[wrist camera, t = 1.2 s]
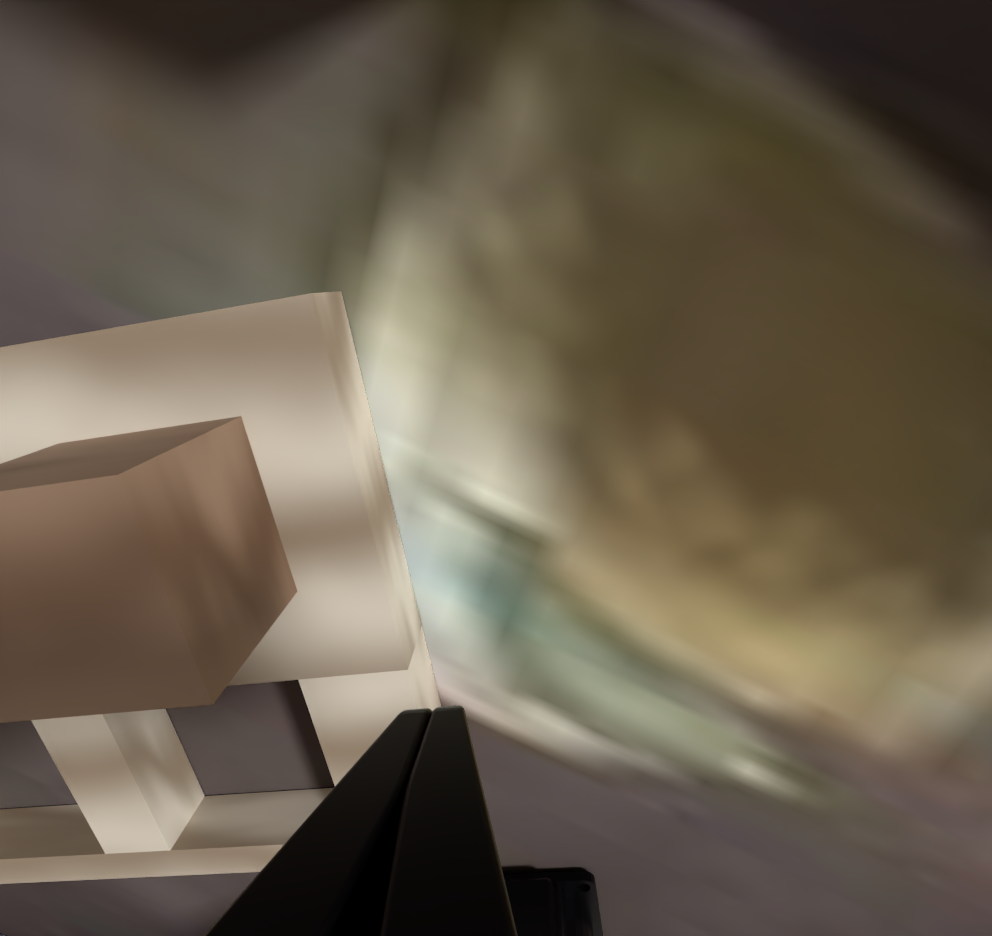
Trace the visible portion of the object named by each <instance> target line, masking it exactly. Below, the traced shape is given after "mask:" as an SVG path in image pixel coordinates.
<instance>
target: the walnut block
mask: <svg viewBox="0 0 992 936" xmlns="http://www.w3.org/2000/svg"><path fill="white" fill-rule="evenodd" d="M296 593H297V588H296V585H295V582H294V579H293V576H292V573H291V570H290V567H289V563H288V560H287V557H286V554H285V551H284V548H283V545H282V542H281V539H280V535H279V532H278V529H277V526H276V523H275V520H274V517H273V514H272V511H271V507H270V504H269V501H268V498H267V495H266V492H265V489H264V486H263V483H262V479H261V476H260V473H259V470H258V467H257V464H256V461H255V458H254V455H253V452H252V448H251V445H250V442H249V439H248V436H247V433H246V430H245V427H244V424H243V420H242V417H241V416H238V417H232V418H225V419H218V420H212V421H205V422H198V423H192V424H185V425H178V426H172V427H165V428H158V429H152V430H145V431H138V432H131V433H125V434H118V435H111V436H105V437H98V438H91V439H85V440H78V441H71V442H65V443H58V444H56V445H53V446H50V447H47V448H44V449H41V450H38V451H36V452H33V453H30V454H27V455H24V456H21V457H19V458H16V459H13V460H10V461H7V462H4V463H1V464H0V723H4V722H16V721H28V720H40V719H51V718H63V717H75V716H87V715H98V714H110V713H122V712H133V711H145V710H157V709H169V708H180V707H192V706H204V705H213V704H214V702H215V701H216V700H217V698H218V697H219V696H220V694H221V693H222V692H223V690H224V689H225V688H226V686H227V685H228V684H229V682H230V681H231V680H232V678H233V677H234V676H235V674H236V673H237V672H238V670H239V669H240V668H241V666H242V665H243V664H244V662H245V661H246V660H247V658H248V657H249V656H250V654H251V653H252V652H253V650H254V649H255V648H256V646H257V645H258V644H259V642H260V641H261V640H262V638H263V637H264V636H265V634H266V633H267V632H268V630H269V629H270V628H271V626H272V625H273V624H274V622H275V621H276V620H277V618H278V617H279V616H280V614H281V613H282V612H283V610H284V609H285V608H286V606H287V605H288V604H289V602H290V601H291V600H292V598H293V597H294V595H295V594H296Z"/></svg>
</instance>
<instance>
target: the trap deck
mask: <svg viewBox="0 0 992 936" xmlns="http://www.w3.org/2000/svg"><path fill="white" fill-rule="evenodd" d="M238 416H241V417H242V420H243V424H244V427H245V430H246V433H247V436H248V439H249V442H250V445H251V448H252V452H253V455H254V458H255V461H256V464H257V467H258V470H259V473H260V476H261V479H262V483H263V486H264V489H265V492H266V495H267V498H268V501H269V504H270V507H271V511H272V514H273V517H274V520H275V523H276V526H277V529H278V532H279V535H280V539H281V542H282V545H283V548H284V551H285V554H286V557H287V560H288V563H289V567H290V570H291V573H292V576H293V579H294V582H295V585H296V588H297V593H296V594H295V595H294V597H293V598H292V600H291V601H290V602H289V604H288V605H287V606H286V608H285V609H284V610H283V612H282V613H281V614H280V616H279V617H278V618H277V620H276V621H275V622H274V624H273V625H272V626H271V628H270V629H269V630H268V632H267V633H266V634H265V636H264V637H263V638H262V640H261V641H260V642H259V644H258V645H257V646H256V648H255V649H254V650H253V652H252V653H251V654H250V656H249V657H248V658H247V660H246V661H245V662H244V664H243V665H242V666H241V668H240V669H239V670H238V672H237V673H236V674H235V676H234V677H233V678H232V680H231V681H230V682H229V684H228V685H227V686H232V685H244V684H255V683H266V682H277V681H288V680H299V683H300V686H301V689H302V692H303V695H304V698H305V701H306V704H307V707H308V710H309V713H310V716H311V718H312V721H313V724H314V727H315V730H316V733H317V736H318V739H319V742H320V745H321V748H322V751H323V753H324V756H325V759H326V762H327V765H328V768H329V771H330V774H331V777H332V780H333V783H334V786H336V785H337V784H338V782H339V781H340V780H341V779H342V778H343V777H344V776H345V774H346V773H347V772H348V771H349V770H350V769H351V768H352V766H353V765H354V764H355V763H356V762H357V761H358V760H359V758H360V757H361V756H362V755H363V754H364V753H365V752H366V750H367V749H368V748H369V747H370V746H371V745H372V744H373V742H374V741H375V740H376V739H377V738H378V737H379V736H380V734H381V733H382V732H383V731H384V730H385V729H386V728H387V727H388V725H389V724H390V723H391V722H392V721H393V720H394V719H395V717H396V716H397V715H398V714H399V713H400V712H402V711H404V710H409V709H422V708H429V709H431V710H432V711H433V710H434V709H435V708H437V707H441V703H440V699H439V695H438V691H437V687H436V682H435V678H434V674H433V670H432V666H431V662H430V658H429V653H428V649H427V645H426V641H425V637H424V633H423V629H422V624H421V620H420V616H419V612H418V608H417V604H416V600H415V595H414V591H413V587H412V583H411V579H410V575H409V571H408V566H407V562H406V558H405V554H404V550H403V546H402V542H401V537H400V533H399V529H398V525H397V521H396V517H395V513H394V508H393V504H392V500H391V496H390V492H389V488H388V484H387V479H386V475H385V471H384V467H383V463H382V459H381V454H380V450H379V446H378V442H377V438H376V434H375V430H374V425H373V421H372V417H371V413H370V409H369V405H368V401H367V396H366V392H365V388H364V384H363V380H362V376H361V372H360V367H359V363H358V359H357V355H356V351H355V347H354V343H353V338H352V334H351V330H350V326H349V322H348V318H347V314H346V309H345V305H344V301H343V297H342V293H341V291H338V292H324V293H310V294H304V295H299V296H293V297H287V298H281V299H276V300H270V301H264V302H259V303H253V304H247V305H241V306H236V307H230V308H224V309H218V310H213V311H207V312H201V313H195V314H190V315H184V316H178V317H172V318H167V319H161V320H155V321H150V322H144V323H138V324H132V325H127V326H121V327H115V328H109V329H104V330H98V331H92V332H86V333H81V334H75V335H69V336H63V337H58V338H52V339H46V340H41V341H35V342H29V343H23V344H18V345H12V346H6V347H0V464H1V463H4V462H7V461H10V460H13V459H16V458H19V457H21V456H24V455H27V454H30V453H33V452H36V451H38V450H41V449H44V448H47V447H50V446H53V445H56V444H58V443H65V442H71V441H78V440H85V439H91V438H98V437H105V436H111V435H118V434H125V433H131V432H138V431H145V430H152V429H158V428H165V427H172V426H178V425H185V424H192V423H198V422H205V421H212V420H218V419H225V418H232V417H238ZM31 721H32V723H33V725H34V726H35V728H36V730H37V732H38V734H39V735H40V737H41V739H42V741H43V743H44V744H45V746H46V748H47V750H48V752H49V753H50V755H51V757H52V759H53V761H54V762H55V764H56V766H57V768H58V770H59V771H60V773H61V775H62V777H63V779H64V780H65V782H66V784H67V786H68V788H69V789H70V791H71V793H72V795H73V797H74V798H75V800H76V802H77V804H75V805H60V806H44V807H29V808H14V809H0V884H9V883H30V882H51V881H72V880H94V879H115V878H136V877H157V876H179V875H200V874H221V873H242V872H261V870H262V869H263V868H264V867H265V866H266V865H267V864H268V862H269V861H270V860H271V859H272V858H273V857H274V856H275V854H276V853H277V852H278V851H279V850H280V849H281V848H282V846H283V845H284V844H285V843H286V842H287V841H288V840H289V838H290V837H291V836H292V835H293V834H294V833H295V832H296V830H297V829H298V828H299V827H300V826H301V825H302V824H303V822H304V821H305V820H306V819H307V818H308V817H309V816H310V814H311V813H312V812H313V811H314V810H315V809H316V808H317V806H318V805H319V804H320V803H321V802H322V801H323V800H324V798H325V797H326V796H327V795H328V794H329V793H330V792H331V790H332V789H333V788H322V789H307V790H292V791H276V792H261V793H245V794H230V795H214V796H204V794H203V791H202V789H201V787H200V785H199V782H198V780H197V778H196V776H195V774H194V771H193V769H192V767H191V765H190V762H189V760H188V758H187V756H186V754H185V751H184V749H183V747H182V745H181V742H180V740H179V738H178V736H177V734H176V731H175V729H174V727H173V725H172V722H171V720H170V718H169V716H168V714H167V711H166V709H157V710H145V711H133V712H122V713H110V714H98V715H87V716H75V717H63V718H51V719H40V720H31Z"/></svg>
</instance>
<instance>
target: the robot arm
mask: <svg viewBox="0 0 992 936" xmlns="http://www.w3.org/2000/svg"><path fill="white" fill-rule="evenodd" d="M204 936H603V932H602V925H601V918H600V911H599V904H598V897H597V890H596V883H595V878H594V875H593V874H591V873H590V872H587V871H572V872H549V873H526V874H504V875H503V871H502V867H501V863H500V859H499V854H498V850H497V846H496V842H495V837H494V833H493V829H492V825H491V821H490V816H489V812H488V808H487V804H486V799H485V795H484V791H483V787H482V782H481V778H480V774H479V770H478V765H477V761H476V757H475V753H474V748H473V744H472V740H471V736H470V731H469V727H468V723H467V719H466V714H465V710H464V708H463V707H462V706H447V707H437V708H435V709H434V710H433V711H432V710H431V709H429V708H422V709H409V710H404V711H402V712H400V713H399V714H398V715H397V716H396V717H395V719H394V720H393V721H392V722H391V723H390V724H389V725H388V727H387V728H386V729H385V730H384V731H383V732H382V733H381V734H380V736H379V737H378V738H377V739H376V740H375V741H374V742H373V744H372V745H371V746H370V747H369V748H368V749H367V750H366V752H365V753H364V754H363V755H362V756H361V757H360V758H359V760H358V761H357V762H356V763H355V764H354V765H353V766H352V768H351V769H350V770H349V771H348V772H347V773H346V774H345V776H344V777H343V778H342V779H341V780H340V781H339V782H338V784H337V785H336V786H335V787H334V788H333V789H332V790H331V792H330V793H329V794H328V795H327V796H326V797H325V798H324V800H323V801H322V802H321V803H320V804H319V805H318V806H317V808H316V809H315V810H314V811H313V812H312V813H311V814H310V816H309V817H308V818H307V819H306V820H305V821H304V822H303V824H302V825H301V826H300V827H299V828H298V829H297V830H296V832H295V833H294V834H293V835H292V836H291V837H290V838H289V840H288V841H287V842H286V843H285V844H284V845H283V846H282V848H281V849H280V850H279V851H278V852H277V853H276V854H275V856H274V857H273V858H272V859H271V860H270V861H269V862H268V864H267V865H266V866H265V867H264V868H263V869H262V870H261V872H260V873H259V874H258V875H257V876H256V877H255V878H254V880H253V881H252V882H251V883H250V884H249V885H248V886H247V888H246V889H245V890H244V891H243V892H242V893H241V894H240V895H239V897H238V898H237V899H236V900H235V901H234V902H233V903H232V905H231V906H230V907H229V908H228V909H227V910H226V911H225V913H224V914H223V915H222V916H221V917H220V918H219V919H218V921H217V922H216V923H215V924H214V925H213V926H212V927H211V929H210V930H209V931H208V932H207V933H206V934H205V935H204Z"/></svg>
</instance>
